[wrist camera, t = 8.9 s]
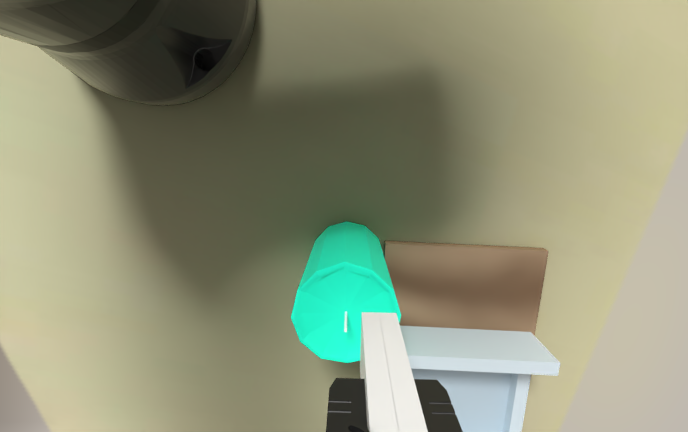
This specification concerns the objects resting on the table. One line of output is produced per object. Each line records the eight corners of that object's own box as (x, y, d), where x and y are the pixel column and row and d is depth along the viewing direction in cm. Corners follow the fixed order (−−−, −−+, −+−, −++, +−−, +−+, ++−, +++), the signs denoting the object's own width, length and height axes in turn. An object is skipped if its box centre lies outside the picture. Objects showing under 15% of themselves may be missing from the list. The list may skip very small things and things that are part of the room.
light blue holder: (392, 320, 29) (401, 354, 24) (525, 326, 29) (560, 362, 24) (384, 433, 31) (390, 485, 27) (507, 440, 31) (536, 493, 27)
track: (384, 240, 29) (395, 270, 22) (543, 248, 29) (603, 280, 22) (370, 442, 33) (376, 520, 26) (510, 449, 33) (552, 529, 26)
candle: (396, 242, 29) (428, 309, 17) (361, 301, 30) (368, 402, 18) (332, 208, 29) (320, 253, 17) (299, 270, 30) (265, 352, 18)
